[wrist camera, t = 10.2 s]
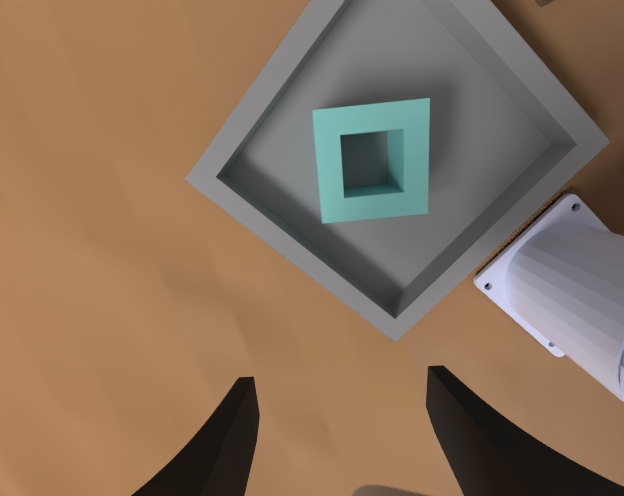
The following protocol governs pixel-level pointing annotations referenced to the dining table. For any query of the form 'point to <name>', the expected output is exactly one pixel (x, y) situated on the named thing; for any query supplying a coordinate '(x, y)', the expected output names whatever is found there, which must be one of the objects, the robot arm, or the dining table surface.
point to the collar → (400, 153)
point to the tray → (373, 147)
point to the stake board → (543, 2)
